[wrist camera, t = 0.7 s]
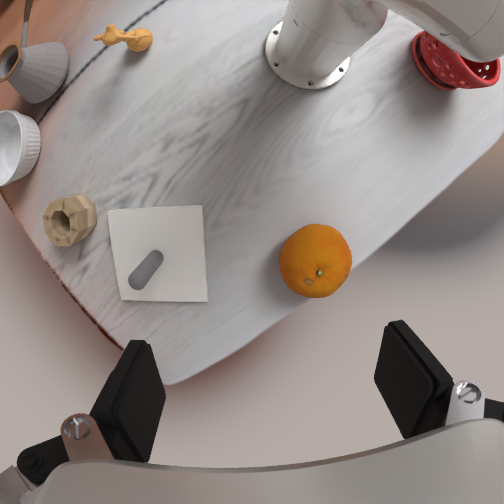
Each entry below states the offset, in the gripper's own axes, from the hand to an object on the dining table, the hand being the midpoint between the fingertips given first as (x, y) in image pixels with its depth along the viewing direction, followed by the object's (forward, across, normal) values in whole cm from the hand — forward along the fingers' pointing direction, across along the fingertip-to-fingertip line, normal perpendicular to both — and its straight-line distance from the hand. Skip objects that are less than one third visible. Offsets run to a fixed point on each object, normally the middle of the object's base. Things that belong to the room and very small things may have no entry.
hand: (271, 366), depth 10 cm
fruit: (+34, -9, +7) cm, 35 cm away
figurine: (+33, +15, -28) cm, 46 cm away
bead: (+33, +28, -2) cm, 44 cm away
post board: (+33, +15, +5) cm, 37 cm away
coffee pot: (+33, +32, -34) cm, 57 cm away
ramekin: (+34, +41, -17) cm, 55 cm away
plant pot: (+33, -34, -27) cm, 55 cm away
